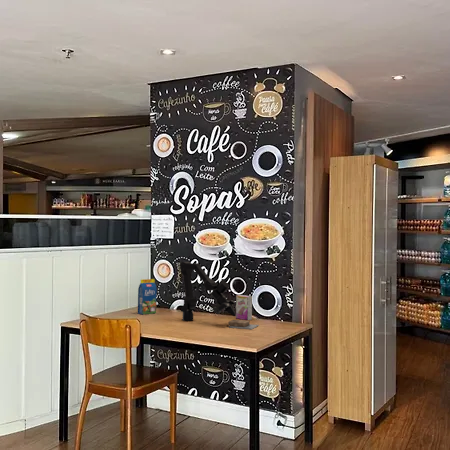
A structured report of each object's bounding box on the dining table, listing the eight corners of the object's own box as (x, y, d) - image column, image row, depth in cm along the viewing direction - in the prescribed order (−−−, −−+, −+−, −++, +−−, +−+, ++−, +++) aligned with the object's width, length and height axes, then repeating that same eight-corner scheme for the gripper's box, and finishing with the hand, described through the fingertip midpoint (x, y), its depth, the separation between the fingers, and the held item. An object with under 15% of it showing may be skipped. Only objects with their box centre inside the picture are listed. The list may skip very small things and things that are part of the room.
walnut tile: (228, 321, 363) (244, 323, 360) (233, 319, 373) (249, 320, 369) (228, 325, 363) (244, 327, 360) (233, 323, 373) (249, 325, 369)
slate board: (228, 327, 360) (228, 326, 360) (237, 324, 375) (237, 323, 375) (251, 329, 355) (251, 328, 355) (258, 325, 370) (258, 325, 370)
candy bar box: (235, 318, 400) (235, 295, 400) (240, 318, 404) (240, 294, 404) (247, 320, 392) (247, 296, 393) (252, 319, 396) (252, 296, 396)
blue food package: (156, 313, 417) (157, 279, 418) (142, 314, 410) (143, 279, 410) (151, 312, 422) (152, 278, 423) (137, 313, 414) (138, 279, 415)
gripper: (216, 304, 382) (231, 322, 378) (205, 307, 365) (221, 326, 360) (227, 293, 379) (243, 310, 375) (217, 295, 362) (233, 314, 358)
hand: (235, 315), depth 367 cm, fingers closed
